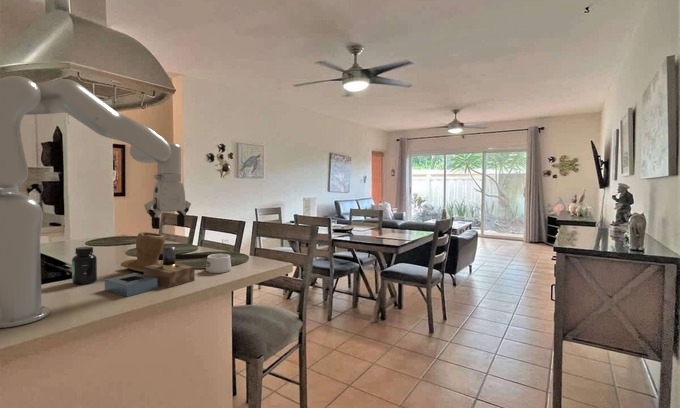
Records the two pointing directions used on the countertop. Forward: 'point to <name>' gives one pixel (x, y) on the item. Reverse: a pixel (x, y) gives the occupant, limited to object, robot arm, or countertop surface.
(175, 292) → the countertop surface
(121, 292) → the socket block
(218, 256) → the mug
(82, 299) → the countertop surface
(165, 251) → the two-tone roller
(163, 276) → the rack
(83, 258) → the supplement bottle
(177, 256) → the wrench
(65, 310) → the countertop surface
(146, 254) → the tan boot
